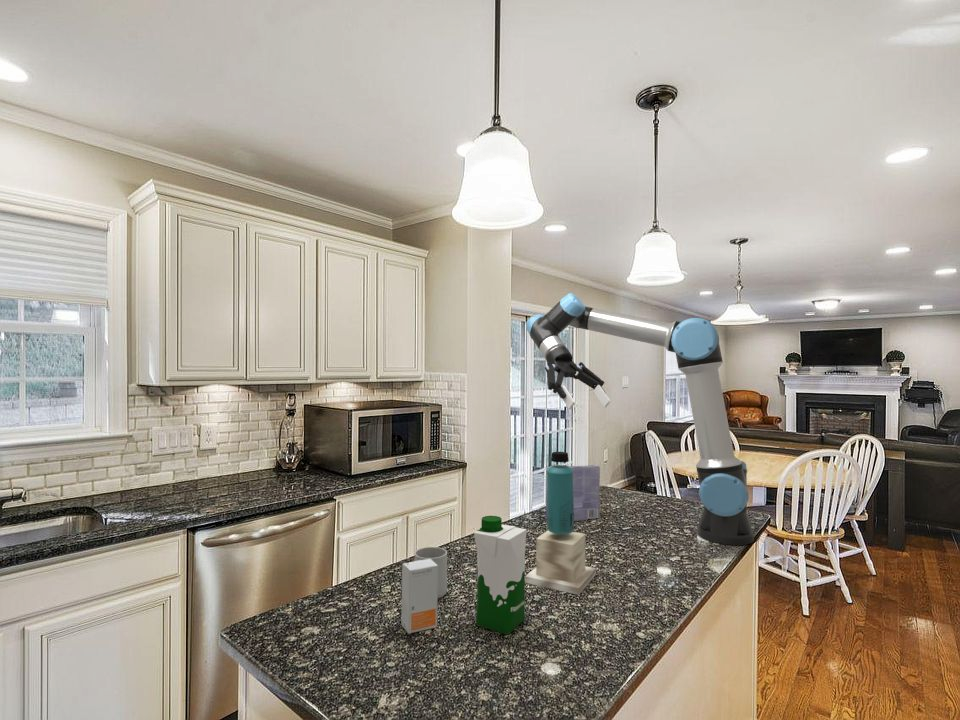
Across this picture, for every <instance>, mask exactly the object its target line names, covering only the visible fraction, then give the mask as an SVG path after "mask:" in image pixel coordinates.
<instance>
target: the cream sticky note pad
mask: <svg viewBox="0 0 960 720" xmlns="http://www.w3.org/2000/svg"><path fill="white" fill-rule="evenodd" d="M535 543H536V544H535V545H536V546H535V547H536V550H535V551H536V553H535V556H536V558H535V559H536V561H535V563H536V564H535V567H534V568H533V569H532V570H531V571H529V573H527V574H526V575H525V584H528V585H533V586H538V587H541V588H546V589H550V590H554V591H559V592H560V591H561V592H563V593H568V594H569V593H570V594H573V595H577V596H578V595H579V596H580V594H581V593H582V592H583V591H584V590H585V588H587V586H588V585H589V584H590V583H591V581H592V580H593V578H595V576H596V575H597V568H596V567H591V566H586V533H582V532H576V531H573V532H572V533H569V534H556V533H552V532H550V531H548V529H547V530H546V531H544V533H541V534H540V535H539V536H538V537H536V541H535Z"/></svg>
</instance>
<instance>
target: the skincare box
mask: <svg viewBox="0 0 960 720" xmlns="http://www.w3.org/2000/svg"><path fill="white" fill-rule="evenodd" d="M401 569H402V570H401V571H402V573H401V577H402V578H401V616H400V617H401V621H400V622H401V626H402V628H403V629H404V630H405V631H406V633H407V634H408V635H409V634H412V633H418V632H421V631H426V630H429V629H430V630H431V629H436V628H437V627H438V599H439V598H438V565H437V564H436V563H435V562H433V561H432V560H431V559H426V560H418V561H415V560H413V561H410V562H403V563H402V565H401ZM437 598H438V599H437Z"/></svg>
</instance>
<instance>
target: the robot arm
mask: <svg viewBox="0 0 960 720" xmlns="http://www.w3.org/2000/svg"><path fill="white" fill-rule="evenodd" d="M568 326H570V327H573V328H576V329H583V330H586V331H587V330H588V331H592V332H596V333H600V334H605V335H609V336H613V337H614V336H615V337H620V338H624V339H627V340H628V339H629V340H632V341H636V342H641V343H645V344H650V345H655V346H660V347H664V348H665V349H666V350H667V351H668V352H672V353H675V358H676V363H677V368H678V370H679V371H680V372H681V373H683V374H684V375H685V380H686V384H687V385H686V386H687V390H688V396H689V402H690V407H691V408H690V409H691V412H692V413H691V414H692V419H693V424H694V429H695V434H696V440H697V445H698V446H697V447H698V452H699V457H700V460H699V461H697V463H696V465H695V468H696V474H697V479H698V483H699V484H698V485H699V487H698V496H699V499H700V501H701V503H702V505H703V510H702V513H701V516H700V519H699V521H698V523H697V535H698V536H699V537H700V538H701V539H704V540H706V541H708V542H709V541H710V542H712V543H717V544H722V545H732V546H743V545H744V546H745V545H749V544H752V543H754V542H755V536H754V535H755V533H754V530H753V527H752V523H751V521H750V519H749V518H750V517H749V516H748V511H747V510H748V502H749V495H750V494H749V490H748V482H747V481H748V478H747V477H748V476H747V475H748V469H747V464H746V462H745V461H743V460H740V459H739V458H738V457H736V456H735V453H734V452H735V451H734V447H733V443H732V437H731V431H730V426H729V422H728V421H729V420H728V415H727V410H726V406H725V405H726V404H725V399H724V393H723V389H722V384H721V379H720V374H719V368H720V367H721V366H722V364H723V356H722V351H721V345H720V337H719V333H718V330H717V327H716V326H715V325H714V324H713V323H712V322H711V321H710V320H707V319H705V318H701V317H691V318H687V319H685V320H683V321H678V320H675V321H673V322H666V321H661V320H655V319H652V318H651V319H650V318H645V317H641V316H635V315H631V314H625V313H620V312H615V311H609V310H605V309H599V308H595V307H591V306H587V305H585V304H584V303H583V302H582V300H581V299H580V298H579V297H578V296H577V295H576V294H575V293H572V292H569V293H567V294H566V295H565V296H564V297H562V298H561V299H560V300H559V301H558V302H557V303H556V304H555V305H554V306H553V307H552V308H551V309H550V310H549V311H547V313H546V314H541V313H540V314H539V313H537V314H535V315H534V316H531V317H530V318H529V319H528V320H527V322H526V325H525V327H526V330H527V332H528V334H529V336H530V339H531V340H532V341H533V342H534V344H535V346H536V347H537V348H538V350H539V351H540V353H541V355H542V356H543V358H544V359H545V360H546V363H547V364H545V367H544V370H545V372H546V377H547V389H548V390H549V391H552V393H554V394H557V395H559V398H561V399H562V401H563V402H564V404H565V405H566V408H567V409H568V410H572V408H573V407H574V405H575V404H576V401H575V399H574V398H573V396H572V395H571V394H570V392H569V390H568V389H567V387H566V385H563V381H564V378H571V379H574V380H578V381H580V382H581V383H583V384H584V385H586V386H588V387H589V388H591V389H593V391H592V392H593V393H594V394H595V396H596V397H597V399H598V401H599V402H600V403H601V404H602V406H603V407H604V408H607V406H609V404H610V403H611V399H610V398H609V396H608V395H607V393H606V391H605V390H604V388H603V386H604V384H605V381H604V380H602V379H601V378H600V377H599V376H598V375H597V374H595V373H594V372H593V371H591V370H590V369H589V368H588V367H586V365H585V363H583V362H582V361H580V362H579V363H578V364H576V363H575V362H574V360H573V355H572V352H571V351H570V350H569V348H567V345H566V344H565V342H563V341H564V340H562V339H561V337H560V336H559V334H560V333H562V332H563V331H564V330H565V329H566V328H568ZM555 372H556V373H557V375H555V374H556V373H555Z"/></svg>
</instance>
